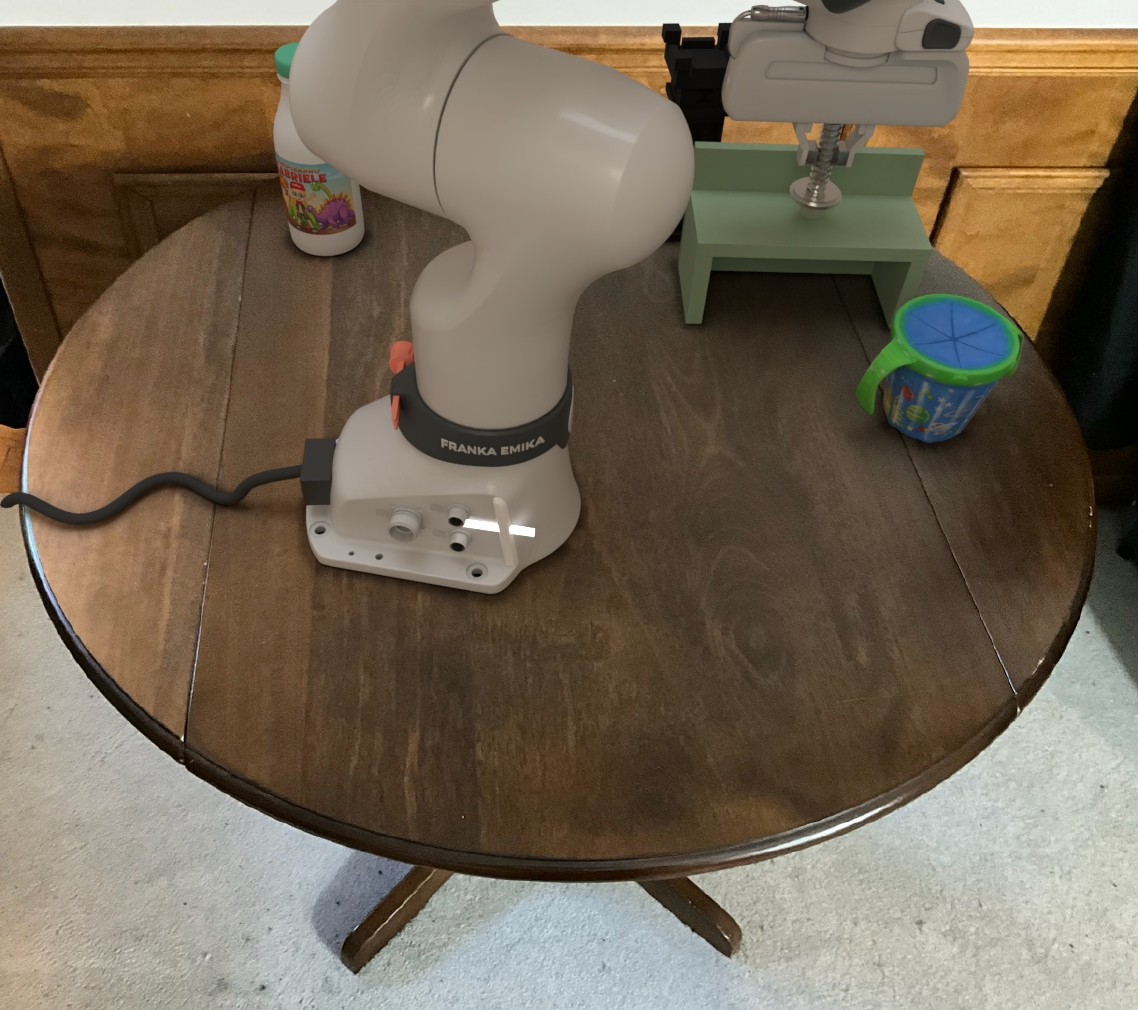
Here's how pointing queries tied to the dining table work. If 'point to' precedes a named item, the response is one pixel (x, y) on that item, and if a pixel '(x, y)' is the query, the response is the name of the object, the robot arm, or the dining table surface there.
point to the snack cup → (940, 364)
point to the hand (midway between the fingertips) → (823, 163)
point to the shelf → (802, 221)
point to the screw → (819, 178)
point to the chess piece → (697, 84)
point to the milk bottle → (312, 184)
